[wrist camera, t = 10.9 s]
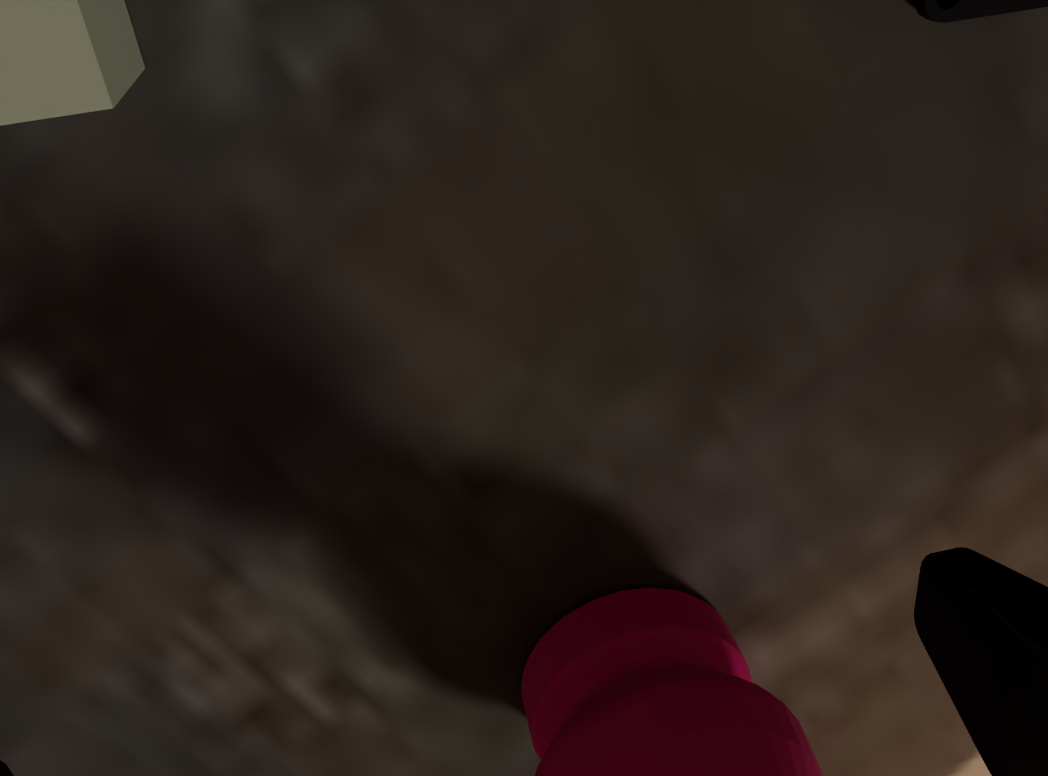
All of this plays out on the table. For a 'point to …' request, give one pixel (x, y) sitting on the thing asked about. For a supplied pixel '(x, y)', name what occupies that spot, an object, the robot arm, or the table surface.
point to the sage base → (64, 57)
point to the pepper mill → (654, 695)
